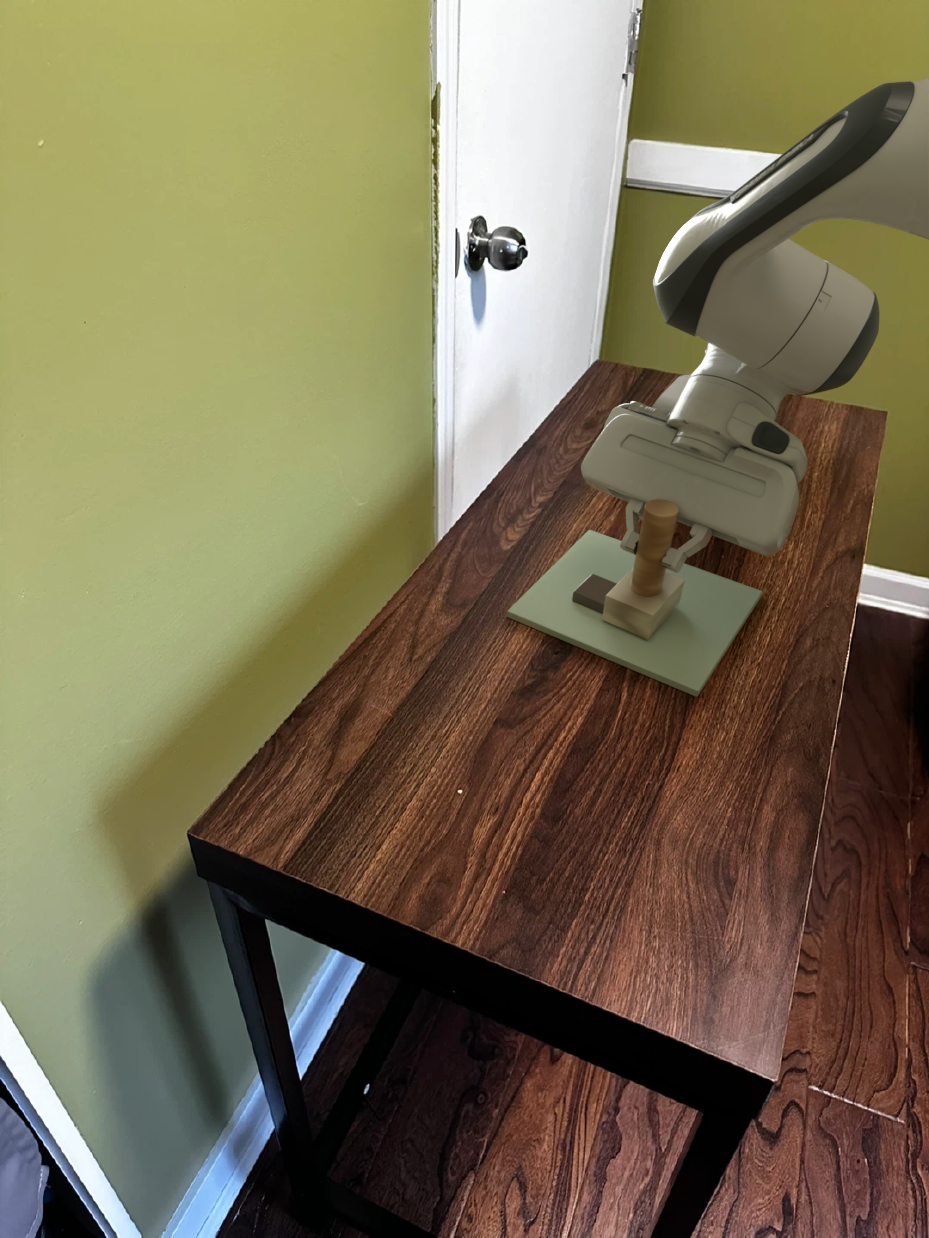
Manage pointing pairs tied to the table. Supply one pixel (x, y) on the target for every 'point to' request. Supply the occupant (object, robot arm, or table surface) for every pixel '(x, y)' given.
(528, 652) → the table surface
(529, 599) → the mat
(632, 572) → the stamp
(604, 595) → the brown flat square block
